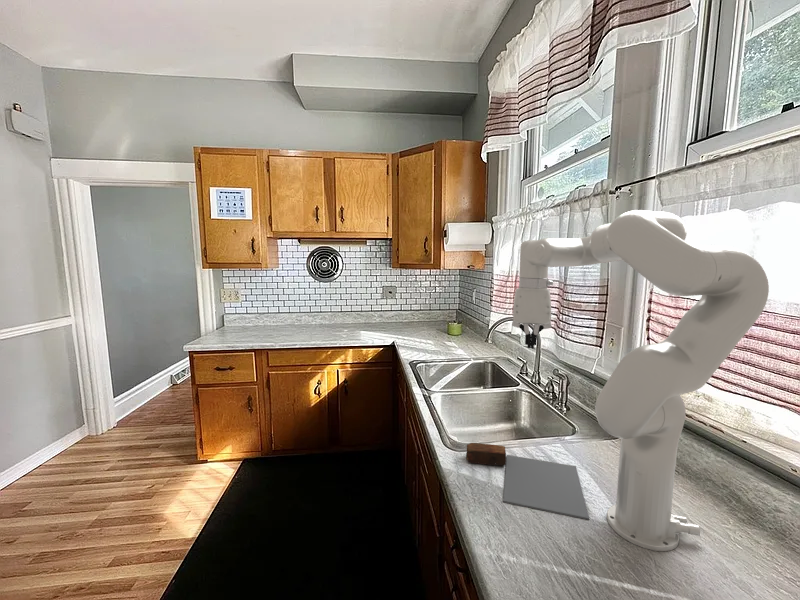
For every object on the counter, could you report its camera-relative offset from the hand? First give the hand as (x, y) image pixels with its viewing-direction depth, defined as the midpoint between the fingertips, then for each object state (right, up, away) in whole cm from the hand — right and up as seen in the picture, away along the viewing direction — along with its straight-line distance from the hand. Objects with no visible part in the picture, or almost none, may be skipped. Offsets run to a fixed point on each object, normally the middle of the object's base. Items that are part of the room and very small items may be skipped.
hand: (530, 347), depth 104 cm
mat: (-2, -33, -13) cm, 35 cm away
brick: (-16, -28, -7) cm, 33 cm away
